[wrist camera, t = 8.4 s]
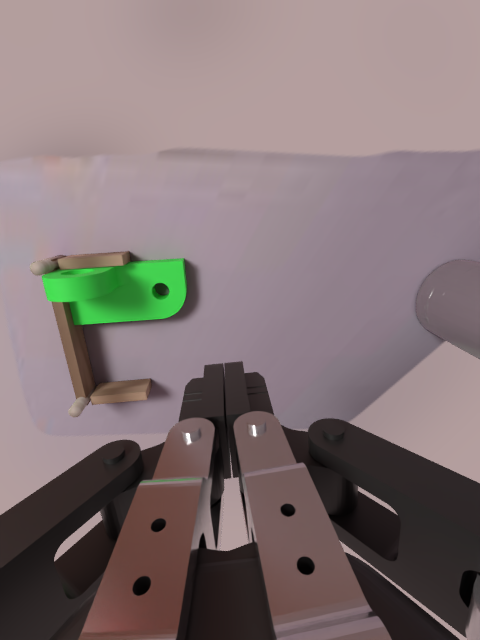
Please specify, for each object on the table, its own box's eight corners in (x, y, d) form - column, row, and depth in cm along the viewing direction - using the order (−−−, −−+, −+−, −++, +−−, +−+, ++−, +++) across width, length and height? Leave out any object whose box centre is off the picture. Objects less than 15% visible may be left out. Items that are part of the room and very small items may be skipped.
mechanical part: (81, 319, 36) (46, 347, 28) (69, 265, 34) (28, 280, 26) (189, 311, 37) (183, 337, 29) (184, 258, 35) (176, 271, 27)
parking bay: (129, 250, 34) (115, 256, 29) (151, 386, 39) (143, 410, 34) (54, 255, 33) (28, 262, 29) (87, 392, 39) (69, 417, 34)
